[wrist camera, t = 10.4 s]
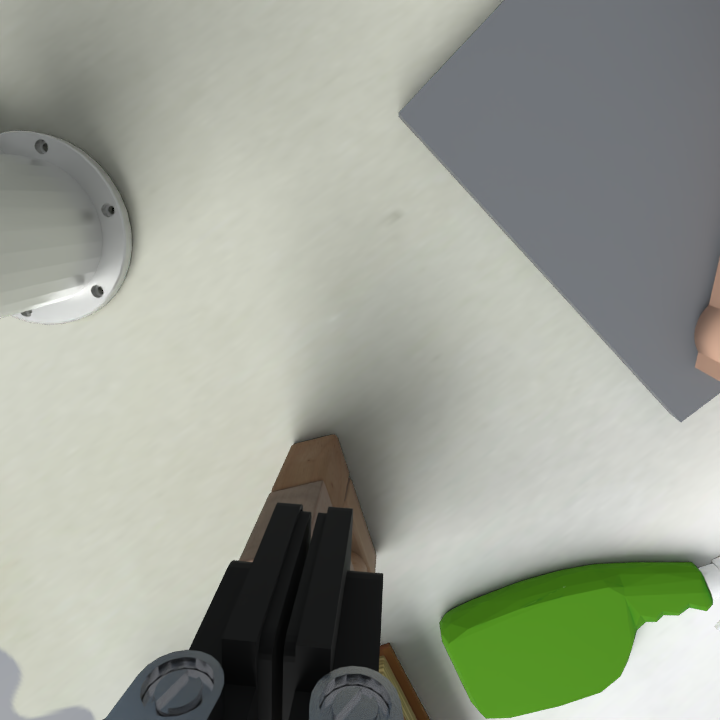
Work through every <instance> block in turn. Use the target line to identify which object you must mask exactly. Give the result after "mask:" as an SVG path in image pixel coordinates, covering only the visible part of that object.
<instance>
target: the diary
mask: <svg viewBox="0 0 720 720" xmlns="http://www.w3.org/2000/svg"><path fill="white" fill-rule="evenodd" d="M379 673H380V674H382V675H383V676H384V677H386V678H387V679H389V681H390V682H391V683H392V684H393V686H394V687H395V688H396V690H397V692H398V695H399V698H400V701H401V706H402V711H403V717H404V720H430V719H429V717H428V715H427V713H426V711H425V710H424V708H423V706H422V704H421V702H420V700H419V698H418V696H417V694H416V693H415V691H414V689H413V687H412V685H411V683H410V681H409V679H408V677H407V676H406V674H405V672H404V670H403V668H402V666H401V664H400V662H399V660H398V659H397V657H396V655H395V653H394V651H393V649H392V647H391V645H390V643H387V644H384V645H381V646H380V657H379Z"/></svg>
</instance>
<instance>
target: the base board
mask: <svg viewBox="0 0 720 720" xmlns="http://www.w3.org/2000/svg"><path fill="white" fill-rule="evenodd" d="M399 117H400V119H401V120H402V121H403V122H404V123H405V124H406V125H407V126H408V127H409V128H410V130H411V131H412V132H413V133H414V134H415V135H416V136H417V137H418V138H419V139H420V140H421V142H422V143H423V144H424V145H425V146H426V147H427V148H428V149H429V150H430V151H431V153H432V154H433V155H434V156H435V157H436V158H437V159H438V160H439V161H440V162H441V163H442V165H443V166H444V167H445V168H446V169H447V170H448V171H449V172H450V173H451V174H452V175H453V177H454V178H455V179H456V180H457V181H458V182H459V183H460V184H461V185H462V186H463V188H464V189H465V190H466V191H467V192H468V193H469V194H470V195H471V196H472V197H473V198H474V200H475V201H476V202H477V203H478V204H479V205H480V206H481V207H482V208H483V209H484V211H485V212H486V213H487V214H488V215H489V216H490V217H491V218H492V219H493V220H494V221H495V223H496V224H497V225H498V226H499V227H500V228H501V229H502V230H503V231H504V232H505V233H506V235H507V236H508V237H509V238H510V239H511V240H512V241H513V242H514V243H515V244H516V246H517V247H518V248H519V249H520V250H521V251H522V252H523V253H524V254H525V255H526V256H527V258H528V259H529V260H530V261H531V262H532V263H533V264H534V265H535V266H536V267H537V269H538V270H539V271H540V272H541V273H542V274H543V275H544V276H545V277H546V278H547V279H548V281H549V282H550V283H551V284H552V285H553V286H554V287H555V288H556V289H557V290H558V291H559V293H560V294H561V295H562V296H563V297H564V298H565V299H566V300H567V301H568V302H569V304H570V305H571V306H572V307H573V308H574V309H575V310H576V311H577V312H578V313H579V314H580V316H581V317H582V318H583V319H584V320H585V321H586V322H587V323H588V324H589V325H590V327H591V328H592V329H593V330H594V331H595V332H596V333H597V334H598V335H599V336H600V337H601V339H602V340H603V341H604V342H605V343H606V344H607V345H608V346H609V347H610V348H611V349H612V351H613V352H614V353H615V354H616V355H617V356H618V357H619V358H620V359H621V360H622V362H623V363H624V364H625V365H626V366H627V367H628V368H629V369H630V370H631V371H632V372H633V374H634V375H635V376H636V377H637V378H638V379H639V380H640V381H641V382H642V383H643V385H644V386H645V387H646V388H647V389H648V390H649V391H650V392H651V393H652V394H653V395H654V397H655V398H656V399H657V400H658V401H659V402H660V403H661V404H662V405H663V406H664V408H665V409H666V410H667V411H668V412H669V413H670V414H671V415H672V416H674V417H675V418H676V419H677V420H679V421H680V422H682V421H683V420H685V419H686V418H687V417H689V416H690V415H691V414H693V413H694V412H695V411H697V410H698V409H699V408H701V407H702V406H703V405H705V404H706V403H707V402H709V401H710V400H711V399H713V398H714V397H715V396H717V395H718V394H719V393H720V381H718V380H716V379H715V378H713V377H711V376H709V375H708V374H706V373H704V372H702V371H701V370H699V369H697V368H695V364H696V360H697V355H698V350H697V348H696V345H695V340H694V333H695V327H696V324H697V321H698V319H699V317H700V315H701V314H702V312H703V311H704V310H705V309H706V308H707V307H708V305H709V302H710V298H711V293H712V289H713V284H714V280H715V276H716V271H717V267H718V262H719V258H720V0H504V1H503V2H502V3H501V4H500V5H499V6H498V7H497V8H496V9H495V11H494V12H493V13H492V14H491V15H490V16H489V17H488V18H487V19H486V20H485V21H484V22H483V23H482V24H481V25H480V27H479V28H478V29H477V30H476V31H475V32H474V33H473V34H472V35H471V36H470V37H469V38H468V39H467V40H466V41H465V43H464V44H463V45H462V46H461V47H460V48H459V49H458V50H457V51H456V52H455V53H454V54H453V55H452V56H451V57H450V59H449V60H448V61H447V62H446V63H445V64H444V65H443V66H442V67H441V68H440V69H439V70H438V71H437V72H436V73H435V75H434V76H433V77H432V78H431V79H430V80H429V81H428V82H427V83H426V84H425V85H424V86H423V87H422V88H421V89H420V91H419V92H418V93H417V94H416V95H415V96H414V97H413V98H412V99H411V100H410V101H409V102H408V103H407V104H406V106H405V107H404V108H403V109H402V110H401V111H400V112H399Z"/></svg>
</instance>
